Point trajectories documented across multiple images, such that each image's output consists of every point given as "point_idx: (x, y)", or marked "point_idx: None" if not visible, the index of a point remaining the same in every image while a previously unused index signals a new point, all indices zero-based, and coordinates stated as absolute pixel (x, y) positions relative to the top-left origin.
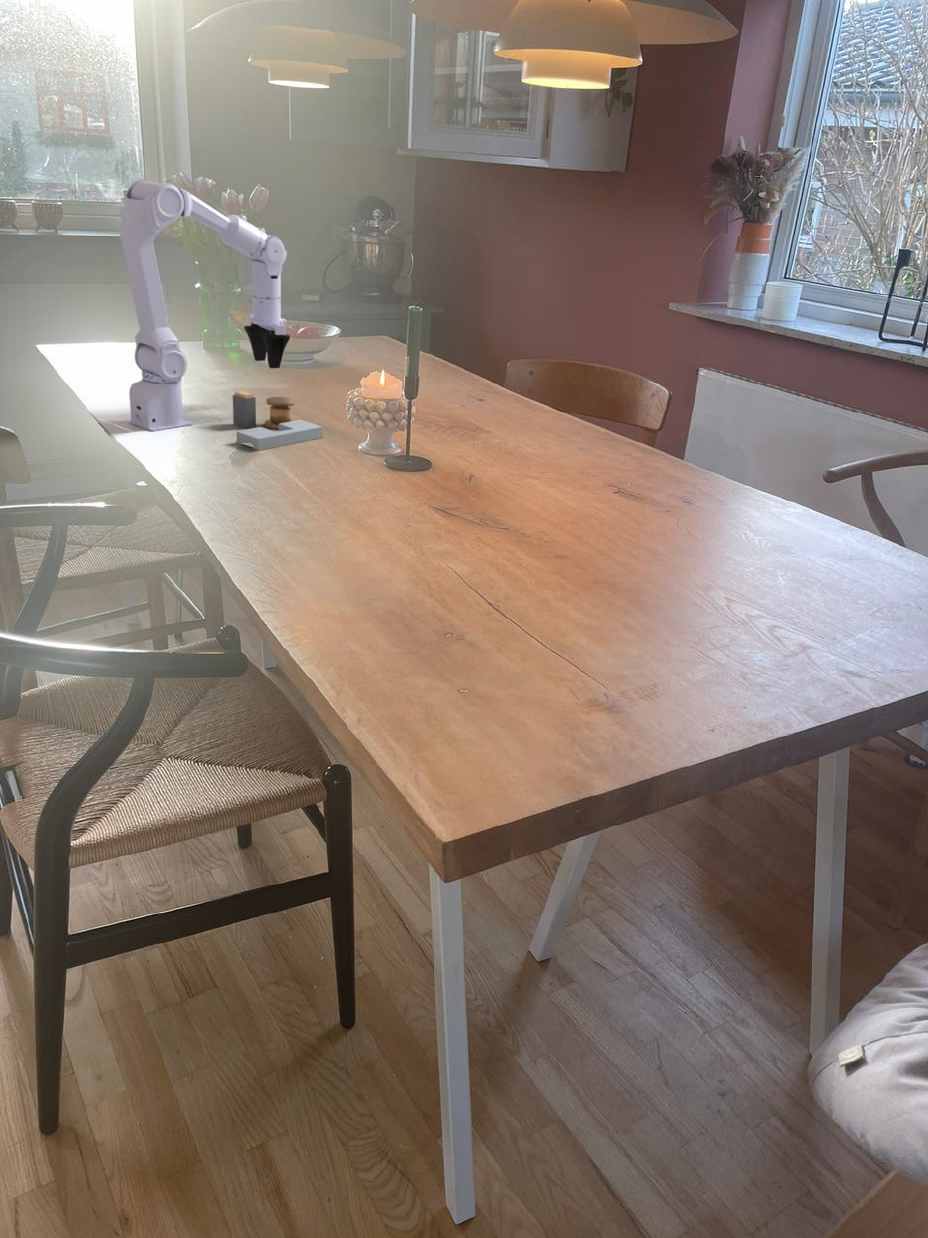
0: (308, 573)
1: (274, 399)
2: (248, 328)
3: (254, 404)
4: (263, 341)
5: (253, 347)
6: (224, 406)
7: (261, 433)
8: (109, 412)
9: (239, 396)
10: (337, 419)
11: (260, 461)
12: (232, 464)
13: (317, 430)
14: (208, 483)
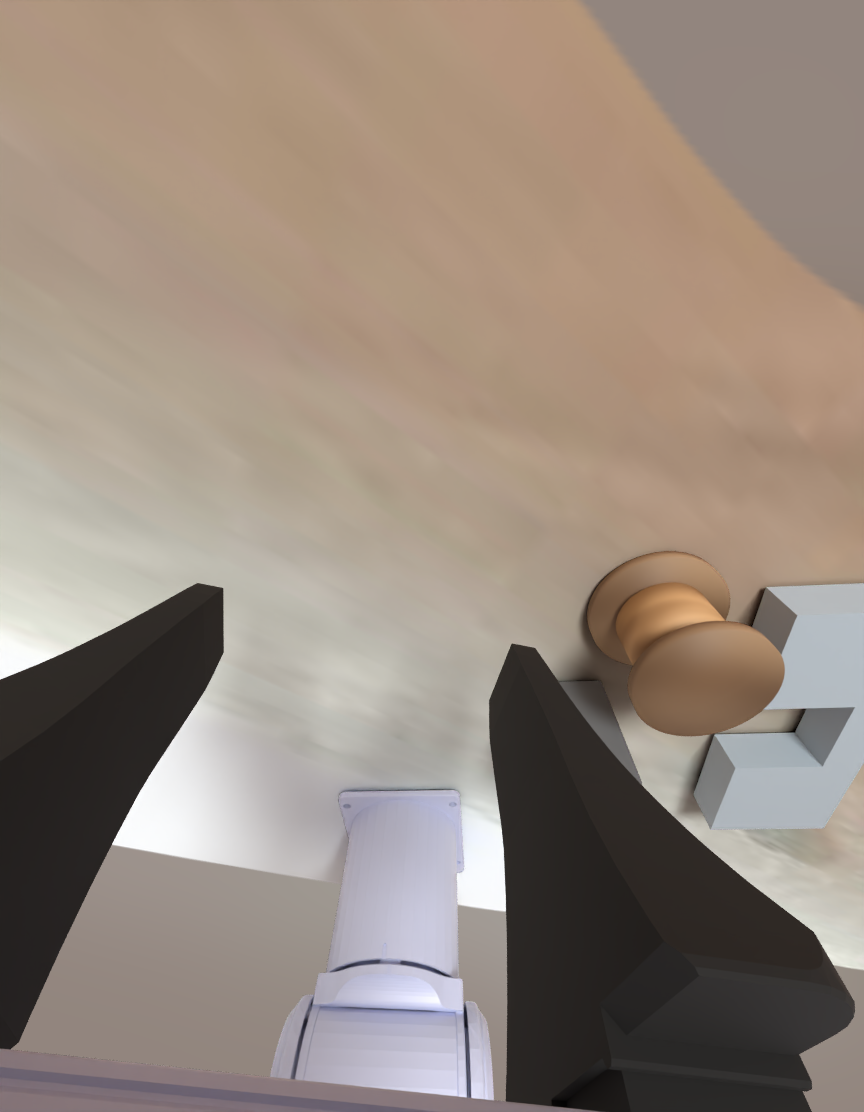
0: None
1: (672, 699)
2: (2, 1044)
3: (629, 758)
4: (108, 734)
5: (159, 759)
6: (264, 609)
7: (790, 798)
8: (234, 854)
9: None
10: (782, 271)
11: (854, 821)
12: (806, 862)
13: None
14: (844, 925)
